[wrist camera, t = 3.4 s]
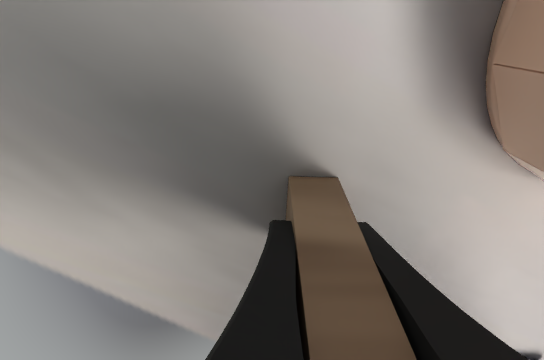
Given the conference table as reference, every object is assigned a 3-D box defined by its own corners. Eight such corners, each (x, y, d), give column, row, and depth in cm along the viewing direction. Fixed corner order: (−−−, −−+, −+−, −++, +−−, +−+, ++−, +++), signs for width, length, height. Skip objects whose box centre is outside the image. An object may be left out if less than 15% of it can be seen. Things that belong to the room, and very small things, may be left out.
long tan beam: (327, 239, 12) (390, 482, 5) (284, 238, 11) (299, 482, 5) (337, 177, 10) (441, 416, 4) (288, 176, 10) (316, 416, 4)
